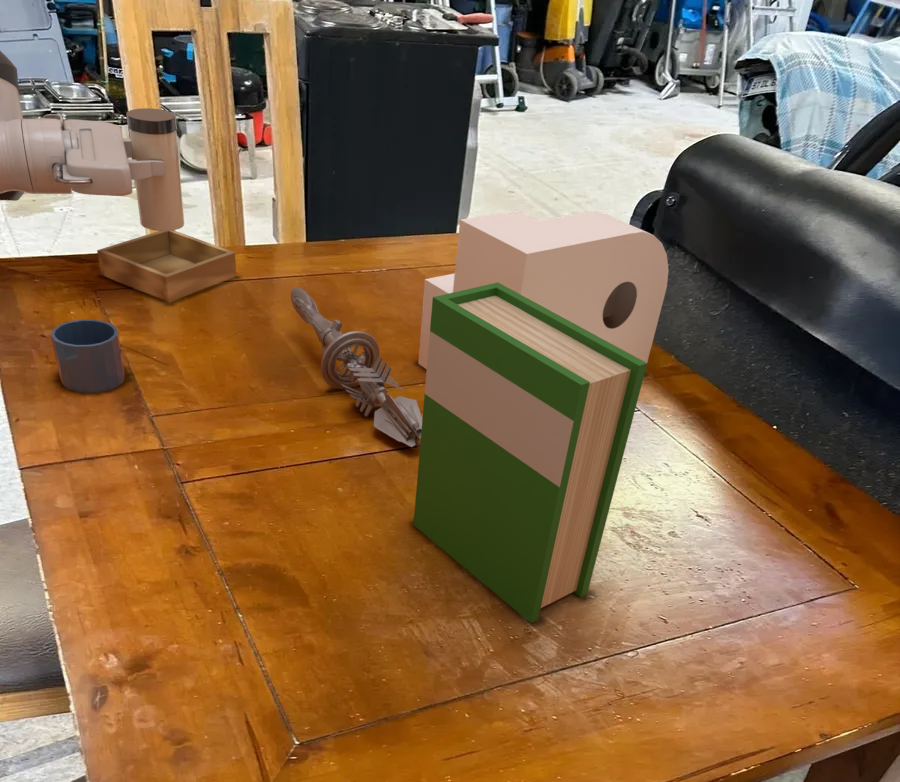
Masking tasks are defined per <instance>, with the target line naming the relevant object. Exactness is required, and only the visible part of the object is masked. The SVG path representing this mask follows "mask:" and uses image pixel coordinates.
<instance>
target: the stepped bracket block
mask: <svg viewBox="0 0 900 782" xmlns="http://www.w3.org/2000/svg"><path fill="white" fill-rule="evenodd" d="M457 236H458V237H457V246H456V247H457V248H456V257H455V266H454V272H453V273H450V274H445V275H440V276H435V277H429V278H424V285H423V298H422V299H423V300H422V312H421V323H420V325H421V326H420V338H419V350H418V363H417V364H418V365H419V366H421V367H422V368H424V369H425V370H427V359H428V348H429V336H430V324H431V312H432V301H433V297H436V296H440V295H444V294H449V293H453V292H458V291H462V290H467V289H471V288H475V287H480V286H484V285H489V284H493V283H497V282H498V283H500V284H502V285H504V286H506V287H507V288H509V289H511V290H513V291H515V292H517V293H519V294H520V295H522V296H524V297H526V298H528V299H530V300H531V301H533V302H535V303H537V304H539V305H541V306H543V307H544V308H546V309H548V310H550V311H552V312H554V313H555V314H557V315H559V316H561V317H563V318H565V319H567V320H568V321H570V322H572V323H574V324H576V325H578V326H579V327H581V328H583V329H585V330H587V331H589V332H591V333H592V334H594V335H596V336H598V337H600V338H602V339H603V340H605V341H607V342H609V343H611V344H613V345H615V346H616V347H618V348H620V349H622V350H624V351H626V352H627V353H629V354H631V355H633V356H635V357H637V358H639V359H640V360H642V361H644V362H646V363H647V364H648V362H649V357H650V354H651V349H652V347H653V342H654V339H655V336H656V335H655V334H656V331H657V327H658V323H659V319H660V315H661V311H662V308H663V303H664V300H665V297H666V292H667V288H668V280H669V279H668V278H669V271H670V270H669V261H668V255H667V252H666V250H665V246H664V245H663V243H662V242H661V240H659V238H657V237H656V236H655V235H654V234H652V233H650V232H649V231H645V230H644V229H640V228H639V227H636V226H634V225H632V224H629V223H628V222H625V221H623V220H621V219H618V218H616V217H614V216H611V215H610V214H606V213H603V212H600V211H597V210H593V211H592V210H591V211H586V212H579V213H573V214H567V215H562V216H556V217H550V218H544V219H538V218H535V217H533V216H531V215H529V214H527V213H524V212H523V211H520V210H519V209H518V210H511V211H505V212H499V213H493V214H487V215H480V216H474V217H467V218H462V219H459V228H458V235H457Z"/></svg>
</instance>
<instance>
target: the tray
mask: <svg viewBox="0 0 900 782" xmlns="http://www.w3.org/2000/svg"><path fill="white" fill-rule="evenodd" d="M96 254H97V259H98V265H99V266H98V267H99V271H100V275H101V276H103V277H105V278H107V279H110V280H113V281H115V282H117V283H120V284H122V285H125V286H128V287H130V288H132V289H134V290H137V291H140V292H143V293H145V294H147V295H149V296H151V297H155V298H157V299H160V300H162V301H165V302H167V303H171V302H173V301H176V300H178V299H181V298H183V297H186V296H189V295H192V294H194V293H197V292H200V291H202V290H205V289H207V288H210V287H212V286H215V285H218V284H220V283H223V282H225V281H228V280H231V279H233V278H235V277H237V264H236V252H235V251H232V250H230V249H226V248H224V247H221V246H219V245H215V244H212V243H210V242H207V241H205V240H202V239H199V238H197V237H193V236H191V235H188V234H186V233H183V232H180V231H177V230H172V231H155V232H152V233H148V234H145V235H142V236H138V237H135V238H132V239H129V240H126V241H122V242H119V243H116V244H113V245H109V246H107V247H102V248H100V249H97V250H96Z"/></svg>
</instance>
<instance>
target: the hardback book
mask: <svg viewBox="0 0 900 782" xmlns="http://www.w3.org/2000/svg"><path fill="white" fill-rule="evenodd" d="M647 366H648V362H647V363H646V362H644V361H642V360H640V359H639V358H637V357H635V356H633V355H631V354H629V353H627V352H626V351H624V350H622V349H620V348H618V347H616V346H615V345H613V344H611V343H609V342H607V341H605V340H603V339H602V338H600V337H598V336H596V335H594V334H592V333H591V332H589V331H587V330H585V329H583V328H581V327H579V326H578V325H576V324H574V323H572V322H570V321H568V320H567V319H565V318H563V317H561V316H559V315H557V314H555V313H554V312H552V311H550V310H548V309H546V308H544V307H543V306H541V305H539V304H537V303H535V302H533V301H531V300H530V299H528V298H526V297H524V296H522V295H520V294H519V293H517V292H515V291H513V290H511V289H509V288H507V287H506V286H504V285H502V284H500V283H498V282H497V283H493V284H489V285H484V286H480V287H475V288H471V289H467V290H462V291H458V292H453V293H449V294H444V295H440V296H436V297H433V301H432V312H431V324H430V336H429V348H428V359H427V369H426V373H425V385H424V396H423V408H422V430H421V438H420V443H419V446H420V448H419V455H418V467H417V478H416V488H415V489H416V490H415V500H414V502H415V503H414V511H413V512H414V514H413V524H412V525H413V526H414V527H415V528H417V529H418V530H419V531H420V532H421V533H422V534H424V535H425V536H426V537H427V538H428V539H430V540H431V541H432V542H433V543H434V544H435V545H436V546H438V547H439V548H440V549H441V550H443V551H444V552H445V553H446V554H448V555H449V556H450V557H451V558H452V559H453V560H455V561H456V562H457V563H458V564H459V565H461V566H462V567H463V568H464V569H466V570H467V572H469V573H470V574H471V575H472V576H474V577H475V578H476V579H477V580H479V581H480V582H481V583H482V584H483V585H485V586H486V587H487V588H488V589H489V590H491V591H492V592H493V593H494V594H495V595H497V596H498V597H499V598H500V600H503V601H504V602H505V603H506V604H507V605H508V606H510V607H511V608H512V609H513V610H515V611H516V612H517V613H518V614H519V615H520V616H521V617H522V618H524V619H525V620H526V621H527V622H529V623H530V624H533V623H534V622H536V621H538V620H539V618H540V613H541V609H542V608H544V607H546V606H548V605H551V604H552V603H554V602H556V601H559V600H560V599H563V598H564V597H567V596H568V595H570V594H572V593H573V594H575V595H576V596H577V597H578V598H583V597H585V596H587V595H588V592H589V589H590V585H591V581H592V578H593V574H594V570H595V565H596V562H597V558H598V555H599V550H600V548H601V547H600V546H601V543H602V538H603V535H604V530H605V528H606V524H607V520H608V517H609V516H608V515H609V511H610V509H611V505H612V500H613V497H614V493H615V490H616V489H615V488H616V484H617V482H618V477H619V473H620V470H621V466H622V461H623V459H624V454H625V451H626V447H627V443H628V438H629V435H630V431H631V427H632V423H633V420H634V416H635V413H636V408H637V404H638V400H639V396H640V392H641V389H642V385H643V381H644V377H645V374H646V371H647V370H646V369H647Z"/></svg>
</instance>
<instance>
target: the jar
mask: <svg viewBox="0 0 900 782" xmlns="http://www.w3.org/2000/svg"><path fill="white" fill-rule="evenodd" d="M126 122H127V128H128V129H129V130H128V132H129V139H130V141H131V149H132V158H131V159H132V160H137V161H145V160H150V159H162V160H163V161H164V163H165V169H166V174H165V176H152V177H148V178H145V179H141V180H134V181H135V191H136V198H137V208H138V216H139V223H140V226H142V227H143V228H145V229H148V230H150V231H155V232H158V231H172V230H174V231H177V230H180V229H182V228H183V227H184V226H185V214H184V204H183V203H184V202H183V193H182V191H183V190H182V182H181V168H180V158H179V145H178V134H177V129H178V126H177V117H176V114H175V113H173V111H172V112H171V111H169V110H166V109H160V108H151V107H150V108H148V107H146V108H142V107H141V108H134V109H129V110H127V112H126Z"/></svg>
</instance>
